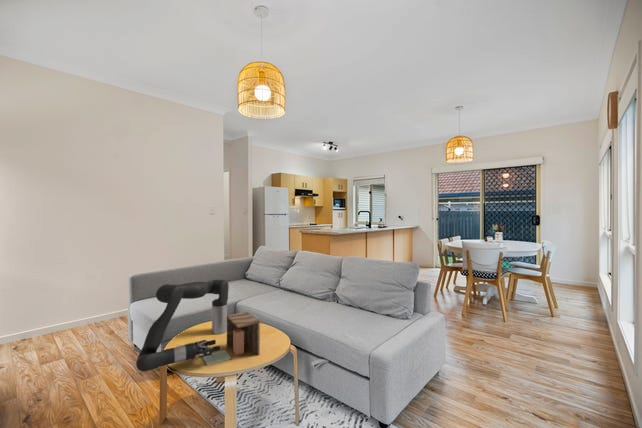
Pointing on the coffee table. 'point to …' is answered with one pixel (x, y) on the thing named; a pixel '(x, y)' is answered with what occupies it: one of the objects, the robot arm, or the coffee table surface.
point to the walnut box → (248, 326)
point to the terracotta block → (238, 341)
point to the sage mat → (216, 357)
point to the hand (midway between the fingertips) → (217, 344)
